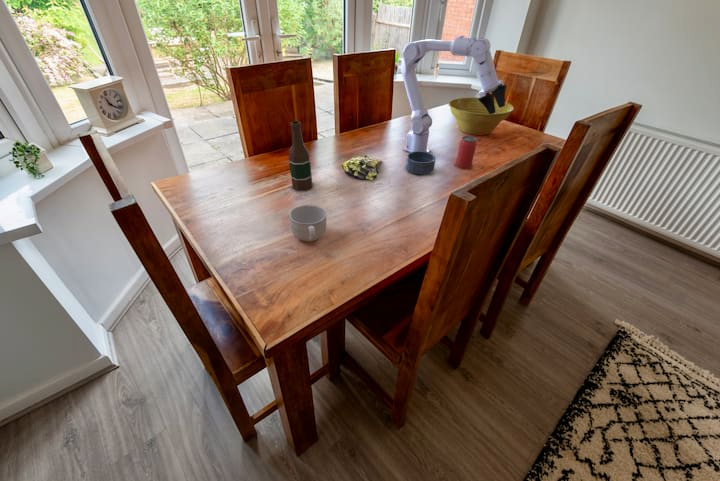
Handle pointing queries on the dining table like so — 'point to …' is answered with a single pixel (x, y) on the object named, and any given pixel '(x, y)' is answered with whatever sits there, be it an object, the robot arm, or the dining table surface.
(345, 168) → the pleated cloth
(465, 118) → the planter bowl
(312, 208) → the teacup
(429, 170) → the bowl
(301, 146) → the beer bottle
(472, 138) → the beer can
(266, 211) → the dining table surface
